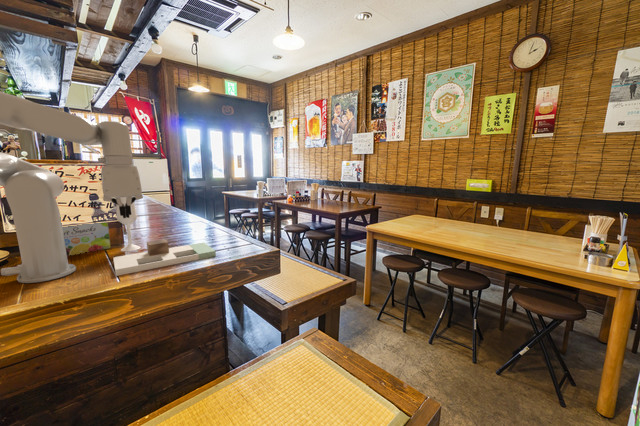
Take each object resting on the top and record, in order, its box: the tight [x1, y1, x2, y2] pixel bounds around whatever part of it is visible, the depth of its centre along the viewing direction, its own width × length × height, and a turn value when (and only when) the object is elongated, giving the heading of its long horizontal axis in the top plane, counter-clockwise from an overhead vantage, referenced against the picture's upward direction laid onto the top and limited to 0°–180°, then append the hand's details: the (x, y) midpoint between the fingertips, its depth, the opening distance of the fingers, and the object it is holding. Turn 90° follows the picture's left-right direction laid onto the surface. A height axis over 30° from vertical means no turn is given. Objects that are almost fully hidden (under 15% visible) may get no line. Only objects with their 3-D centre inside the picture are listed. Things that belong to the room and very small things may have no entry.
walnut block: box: [146, 238, 170, 256], centre depth 97 cm, size 6×5×4 cm
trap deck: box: [112, 242, 217, 277], centre depth 96 cm, size 30×14×2 cm, turn 129°
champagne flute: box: [115, 197, 142, 252], centre depth 105 cm, size 7×7×24 cm
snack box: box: [62, 223, 111, 257], centre depth 100 cm, size 21×6×15 cm, turn 143°
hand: (126, 217), depth 89 cm, fingers closed
